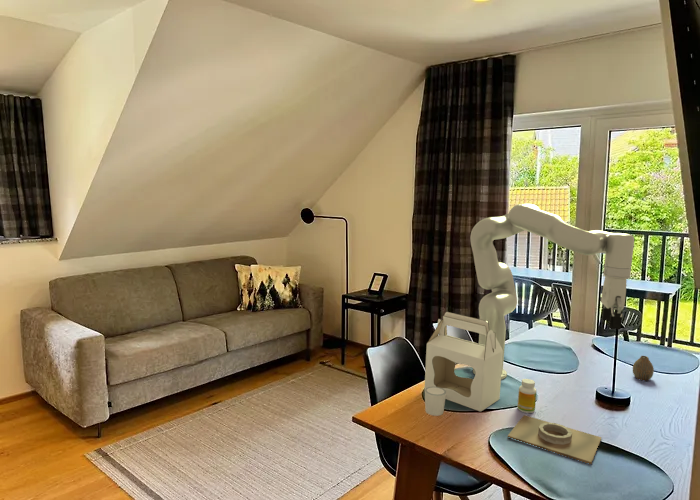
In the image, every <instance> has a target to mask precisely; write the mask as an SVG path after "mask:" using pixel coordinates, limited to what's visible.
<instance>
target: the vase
mask: <svg viewBox="0 0 700 500" xmlns="http://www.w3.org/2000/svg"><path fill="white" fill-rule="evenodd" d="M654 368H655V367H654V365H653V363H652V362H651V360H650V358H649V357H648V356H646V355H641V356H640V357H639V358H638V359H637V360H635V361H634V363H633V366H632V374H633V376H634V377H635V379H637V380H639V379H640V381H643V380H645V381H646V380H647V381H649V380H651V379H652V378H653V376H654V372H655V369H654ZM645 381H644V382H645Z"/></svg>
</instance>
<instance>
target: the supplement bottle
mask: <svg viewBox="0 0 700 500" xmlns="http://www.w3.org/2000/svg"><path fill="white" fill-rule="evenodd" d="M535 385H536V382H535V381H534V379H533V380H532V379H530V378H522V379H521V385H520V386H519V387H518V395H517V406H516V407H517V410H518V411H521V412H522V413H526V414H532V413H534V412H535V411H536V401H537V389H536V387H535Z"/></svg>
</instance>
